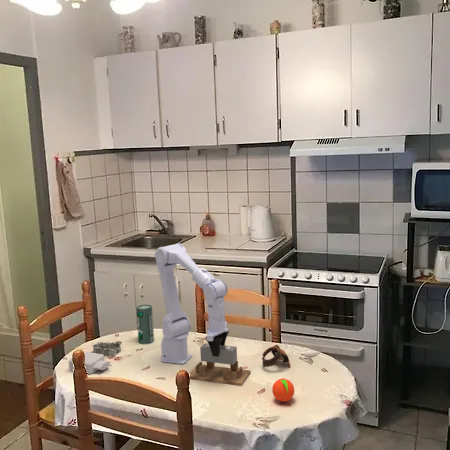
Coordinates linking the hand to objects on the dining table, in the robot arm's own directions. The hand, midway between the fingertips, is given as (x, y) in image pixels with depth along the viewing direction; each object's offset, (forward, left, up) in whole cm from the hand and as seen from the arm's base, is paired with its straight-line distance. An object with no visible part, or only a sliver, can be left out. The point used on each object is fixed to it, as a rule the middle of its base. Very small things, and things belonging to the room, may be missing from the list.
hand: (218, 353), depth 178 cm
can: (-41, +22, -8) cm, 47 cm away
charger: (-47, -7, -9) cm, 48 cm away
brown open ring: (+17, +14, -9) cm, 24 cm away
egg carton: (-51, +8, -9) cm, 52 cm away
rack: (0, 0, -8) cm, 8 cm away
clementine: (+26, -11, -8) cm, 29 cm away
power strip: (0, 0, -3) cm, 3 cm away
